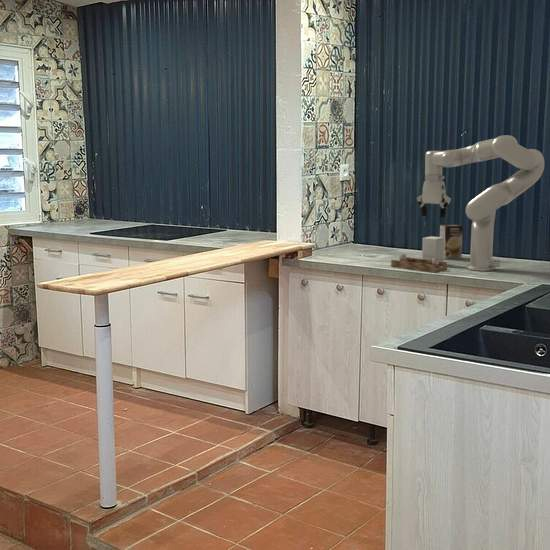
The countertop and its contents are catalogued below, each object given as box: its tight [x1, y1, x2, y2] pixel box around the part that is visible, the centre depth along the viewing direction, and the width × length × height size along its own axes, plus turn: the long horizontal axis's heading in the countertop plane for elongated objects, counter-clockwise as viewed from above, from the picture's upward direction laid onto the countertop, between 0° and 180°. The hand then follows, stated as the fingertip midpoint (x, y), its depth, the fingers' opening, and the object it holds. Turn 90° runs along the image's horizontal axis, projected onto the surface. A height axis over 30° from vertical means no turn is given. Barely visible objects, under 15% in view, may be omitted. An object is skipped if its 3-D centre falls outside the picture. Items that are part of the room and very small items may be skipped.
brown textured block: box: [390, 253, 448, 273], centre depth 352 cm, size 22×11×5 cm, turn 48°
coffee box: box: [439, 224, 464, 260], centre depth 377 cm, size 9×6×16 cm
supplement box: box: [421, 235, 445, 262], centre depth 360 cm, size 7×7×13 cm
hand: (433, 216), depth 358 cm, fingers open, 9 cm apart
